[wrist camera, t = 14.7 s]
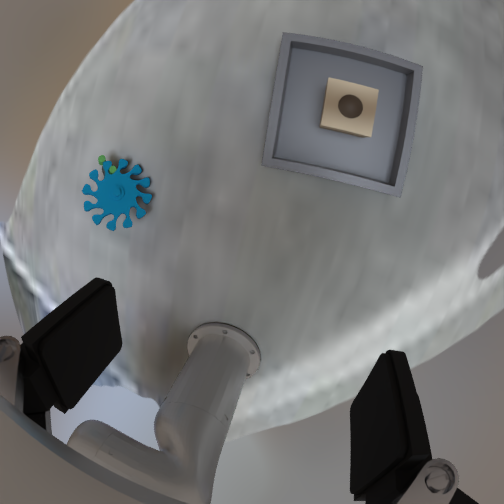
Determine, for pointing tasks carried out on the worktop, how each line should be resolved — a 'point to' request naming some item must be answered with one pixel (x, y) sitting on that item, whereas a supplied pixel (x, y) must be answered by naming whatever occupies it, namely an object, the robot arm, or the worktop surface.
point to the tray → (335, 143)
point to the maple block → (349, 108)
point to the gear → (116, 193)
